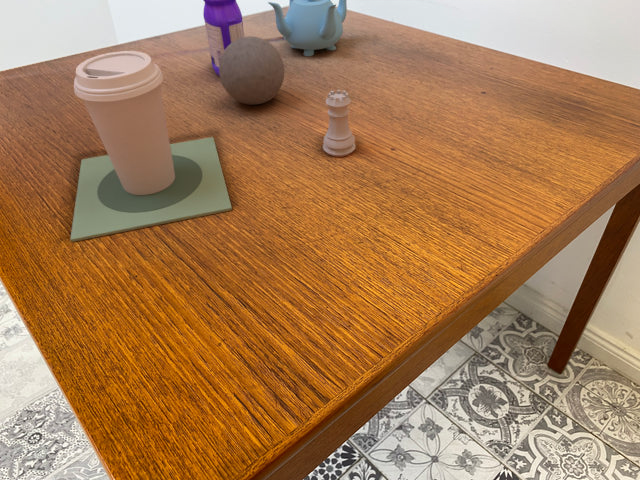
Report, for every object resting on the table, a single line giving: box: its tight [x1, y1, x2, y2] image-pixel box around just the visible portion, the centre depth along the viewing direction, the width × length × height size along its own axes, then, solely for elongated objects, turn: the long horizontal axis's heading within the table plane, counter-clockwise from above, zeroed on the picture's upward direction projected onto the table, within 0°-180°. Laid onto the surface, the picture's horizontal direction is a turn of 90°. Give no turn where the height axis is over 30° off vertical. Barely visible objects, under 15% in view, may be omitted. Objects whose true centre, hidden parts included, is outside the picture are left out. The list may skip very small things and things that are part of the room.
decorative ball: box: [218, 36, 285, 106], centre depth 80 cm, size 10×10×10 cm
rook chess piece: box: [322, 89, 356, 158], centre depth 68 cm, size 4×4×8 cm
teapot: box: [267, 0, 348, 57], centre depth 97 cm, size 13×13×10 cm
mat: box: [69, 136, 233, 243], centre depth 66 cm, size 18×18×1 cm
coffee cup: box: [73, 50, 175, 195], centre depth 61 cm, size 10×10×15 cm
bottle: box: [202, 0, 245, 77], centre depth 87 cm, size 7×6×17 cm
